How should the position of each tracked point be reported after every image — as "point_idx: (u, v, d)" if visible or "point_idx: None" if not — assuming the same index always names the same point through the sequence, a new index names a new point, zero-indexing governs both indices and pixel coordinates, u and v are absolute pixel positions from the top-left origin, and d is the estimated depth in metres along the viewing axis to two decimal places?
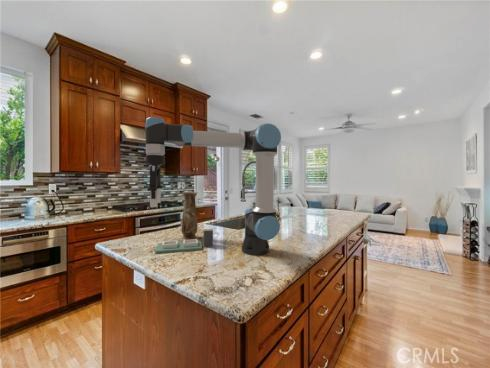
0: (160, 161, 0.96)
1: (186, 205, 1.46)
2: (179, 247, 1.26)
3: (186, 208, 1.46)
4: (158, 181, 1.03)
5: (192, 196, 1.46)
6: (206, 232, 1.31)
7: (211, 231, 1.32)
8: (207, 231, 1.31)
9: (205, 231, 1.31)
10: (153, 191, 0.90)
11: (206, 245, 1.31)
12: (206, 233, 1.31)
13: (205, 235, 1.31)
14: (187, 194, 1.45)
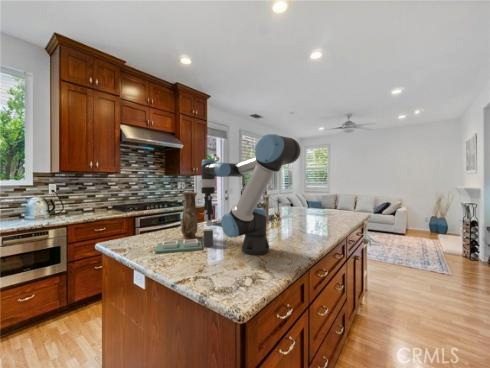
0: (212, 191, 1.30)
1: (186, 205, 1.46)
2: (179, 247, 1.26)
3: (186, 208, 1.46)
4: None
5: (192, 196, 1.46)
6: (206, 232, 1.31)
7: (211, 231, 1.32)
8: (207, 231, 1.31)
9: (205, 231, 1.31)
10: (209, 214, 1.25)
11: (206, 245, 1.31)
12: (206, 233, 1.31)
13: (205, 235, 1.31)
14: (187, 194, 1.45)
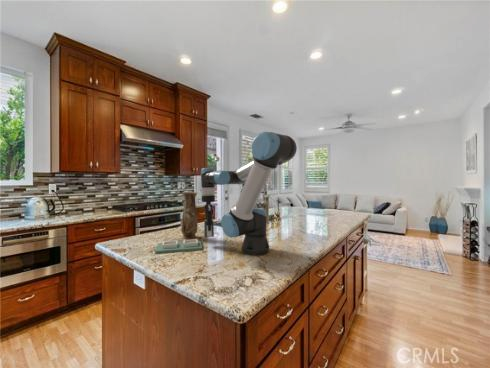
0: (212, 200, 1.30)
1: (186, 205, 1.46)
2: (179, 247, 1.26)
3: (186, 208, 1.46)
4: None
5: (192, 196, 1.46)
6: (206, 222, 1.30)
7: (212, 221, 1.31)
8: None
9: (206, 221, 1.30)
10: (209, 225, 1.29)
11: None
12: (206, 223, 1.30)
13: (206, 225, 1.30)
14: (187, 194, 1.45)
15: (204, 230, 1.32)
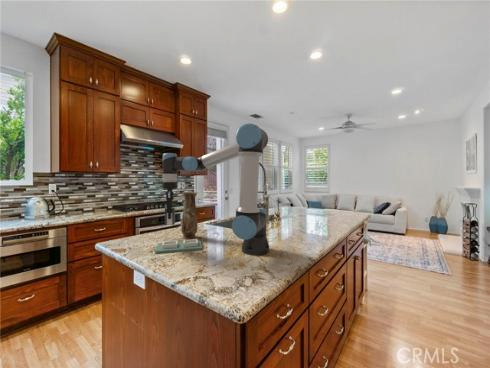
0: (173, 187, 1.25)
1: (186, 205, 1.46)
2: (179, 247, 1.26)
3: (186, 208, 1.46)
4: None
5: (192, 196, 1.46)
6: None
7: (172, 209, 1.26)
8: None
9: (166, 208, 1.25)
10: (169, 213, 1.24)
11: None
12: None
13: (166, 213, 1.25)
14: (187, 194, 1.45)
15: None
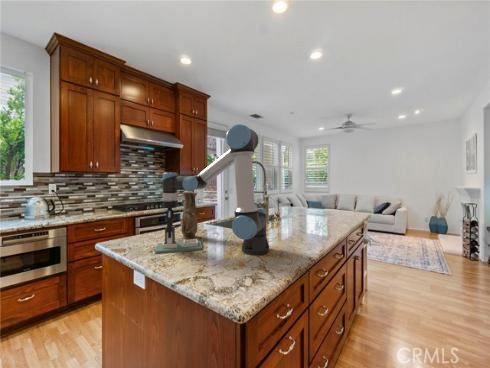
0: (174, 206, 1.25)
1: (186, 205, 1.46)
2: (179, 247, 1.26)
3: (186, 208, 1.46)
4: None
5: (192, 196, 1.46)
6: None
7: (173, 228, 1.26)
8: None
9: (166, 227, 1.25)
10: (170, 232, 1.24)
11: None
12: None
13: (166, 232, 1.25)
14: (187, 194, 1.45)
15: None
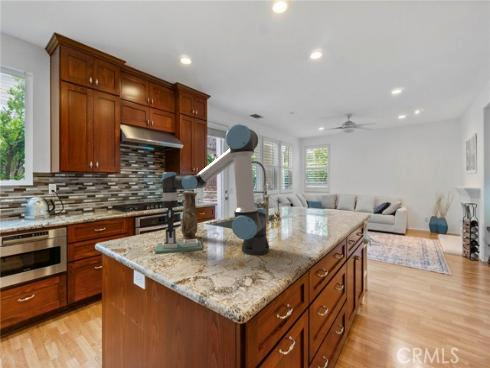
0: (174, 205, 1.25)
1: (186, 205, 1.46)
2: (179, 247, 1.26)
3: (186, 208, 1.46)
4: None
5: (192, 196, 1.46)
6: None
7: (173, 229, 1.26)
8: None
9: (167, 229, 1.26)
10: (170, 232, 1.24)
11: None
12: (167, 232, 1.26)
13: (167, 234, 1.26)
14: (187, 194, 1.45)
15: None
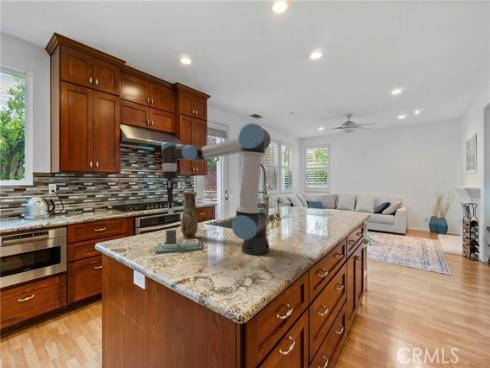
0: (173, 176, 1.24)
1: (186, 205, 1.46)
2: (179, 247, 1.26)
3: (186, 208, 1.46)
4: (171, 193, 1.28)
5: (192, 196, 1.46)
6: (168, 232, 1.26)
7: (174, 231, 1.26)
8: (169, 231, 1.26)
9: (167, 231, 1.25)
10: (170, 202, 1.25)
11: None
12: (168, 233, 1.26)
13: (167, 235, 1.26)
14: (187, 194, 1.45)
15: None
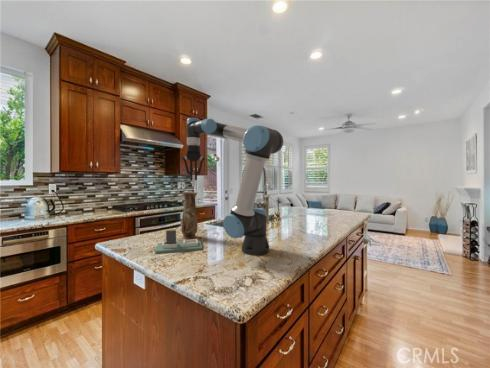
0: (188, 149, 1.31)
1: (186, 205, 1.46)
2: (179, 247, 1.26)
3: (186, 208, 1.46)
4: None
5: (192, 196, 1.46)
6: (168, 232, 1.26)
7: (174, 231, 1.26)
8: (169, 231, 1.26)
9: (167, 231, 1.25)
10: (190, 175, 1.34)
11: None
12: (168, 233, 1.26)
13: (167, 235, 1.26)
14: (187, 194, 1.45)
15: None
